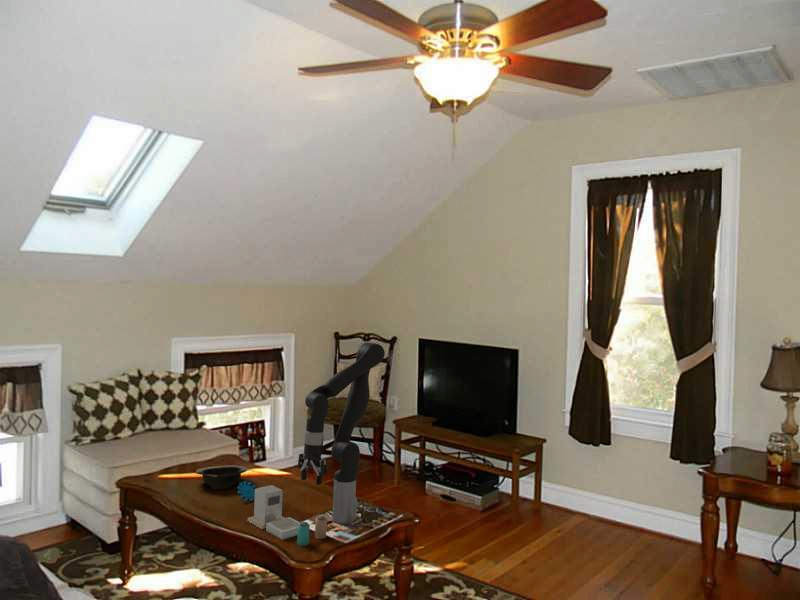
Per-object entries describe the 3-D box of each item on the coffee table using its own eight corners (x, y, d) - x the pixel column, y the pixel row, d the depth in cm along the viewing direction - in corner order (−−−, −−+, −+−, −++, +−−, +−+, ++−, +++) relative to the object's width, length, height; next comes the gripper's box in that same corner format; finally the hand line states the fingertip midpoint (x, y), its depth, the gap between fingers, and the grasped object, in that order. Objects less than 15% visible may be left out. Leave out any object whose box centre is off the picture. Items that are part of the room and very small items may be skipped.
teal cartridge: (304, 540, 253) (305, 520, 252) (311, 543, 250) (311, 523, 249) (294, 542, 250) (295, 522, 249) (301, 546, 246) (302, 526, 246)
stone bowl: (221, 496, 297) (220, 475, 297) (184, 488, 310) (183, 469, 310) (260, 481, 318) (259, 462, 318) (223, 475, 331) (222, 457, 331)
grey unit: (272, 514, 277) (273, 483, 277) (287, 522, 269) (288, 490, 269) (247, 521, 269) (248, 488, 268) (262, 529, 261) (263, 496, 260)
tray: (289, 524, 267) (289, 517, 267) (305, 532, 259) (305, 525, 259) (266, 530, 260) (266, 523, 260) (281, 539, 252) (282, 532, 252)
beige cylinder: (321, 533, 260) (322, 514, 259) (328, 537, 257) (329, 517, 256) (312, 536, 257) (313, 516, 256) (319, 539, 253) (320, 519, 253)
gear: (242, 501, 287) (236, 480, 293) (235, 507, 290) (230, 487, 296) (263, 499, 295) (257, 479, 301) (257, 506, 298) (251, 486, 303)
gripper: (333, 444, 265) (330, 484, 265) (308, 437, 273) (305, 476, 273) (319, 446, 259) (317, 488, 259) (294, 440, 268) (292, 479, 268)
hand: (311, 482), depth 266 cm, fingers open, 8 cm apart
